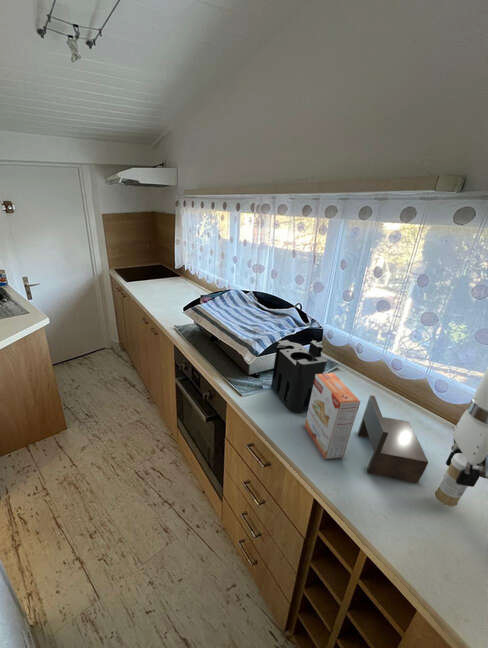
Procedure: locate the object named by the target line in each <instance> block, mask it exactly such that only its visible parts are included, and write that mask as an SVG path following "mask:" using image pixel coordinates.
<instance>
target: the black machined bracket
mask: <svg viewBox="0 0 488 648" xmlns="http://www.w3.org/2000/svg"><path fill="white" fill-rule="evenodd" d="M323 349H324V346H323V345H322V344H318V341H317V340H313V339H312V341H310V342H309V347H308V349H307V348H306V347H305V346H304V345H302V344H300V343H297V342H292V341H289V339H285V340H277V343H276V350H275V357H274V364H273V370H272V378H271V385H270V388H271V390H272V391H273V393H274V394H275V395H276V396H277V397H278V399H279V400H280V401H281V402H282V403H283V405H284V406H285V407H286V409H288V410H289V411H291V412H292V413H304V412H308V408H309V403H310V399H311V394H312V389H313V384H314V380H315V375H316V374H324V373H325V370H326V366H327V363H328V361H329V359H327V358H326V357H325V356H322V352H323Z"/></svg>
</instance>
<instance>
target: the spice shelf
mask: <svg viewBox="0 0 488 648" xmlns="http://www.w3.org/2000/svg"><path fill="white" fill-rule="evenodd" d="M362 415H363V416H362V419H361V421H360V425H359V427H358V431H357V436H358V437H360V438H367V439H369V442H370V445H371V449H372V455H371V456H370V460H369V462H368V465H367V468H366V473H367V474H370V475H375V476H380V477H384V478H390V479H392V480H393V479H394V480H399V481H403V482H409V483H411V484H412V483H413V484H419V482H420V481H421V479H422V477H423V475H424V473H425V471H426V469H427V467H428V465H429V460H428V458H427V456H426V454H425V451H424V449H423V448H422V445H421V443H420V441H419V440H418V437H417V435H416V433H415V431H414V429H413V427H412V425H411V423H410V421H409V420H404V419H398V418H390V417H386V416H383V414H382V412H381V410H380V407H379V404H378V401H377V399H376V396H375V395H369V397H368V401H367V404H366V407H365V409H364V412H363V414H362Z"/></svg>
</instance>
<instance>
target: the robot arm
mask: <svg viewBox="0 0 488 648" xmlns="http://www.w3.org/2000/svg"><path fill="white" fill-rule="evenodd" d="M452 438H453V444H452V446H451V448H450V449H451V451H450V453H449V455H448V457H447V459H446V461H445V464H446V466H448V467H449V466H450V464H451V460H452V458H453V456H454V455H455V454H456V453H463V455H464V456H465V458H466V459H467V464H466V467H465V470H461V472H460V474H459V476H458V478H457V480H456V483H457V484H459V485H465V486H468V487H471V488H474V487H475V485H476V484H477V483H478V480H479V479H480V478H482V479H486V480H487V479H488V367H487V368H486V370H485V372H484V374H483V375H482V378H481V380H480V381H479V385H478V386H477V387H476V390H475V391H474V394H473V396H472V398H471V400H470V402H469V404H468V406H467V408H466V409H465V411H464V412H463V414H462V415H461V416H460V418H459V420H458V422H457V423H456V425H455V427H454V429H453V432H452ZM473 466H479V467H478V470H476V469H472V468H473Z"/></svg>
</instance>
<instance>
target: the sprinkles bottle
mask: <svg viewBox="0 0 488 648" xmlns="http://www.w3.org/2000/svg"><path fill="white" fill-rule="evenodd" d="M466 464H467V459H466V458H465V456H464V455H463V453H456V454H455V455H454V456H453V458H452V460H451V464H450V466H448V468H447V469H446V471H445V473H444V475H443V476H442V478H441V481H440V482H439V485H438V487H437V489H436V490H435V491H434V497H435V499H436V500H437V501H438V502H440V503H441V504H442V505H443V506H444V505H445V506H446V507H451V508H453V507H456V506H458V504H459V501H460V500H461V498H462V497H463V495H464V494H465V492H466V490H467V488H468V487H469V486H465V485H459V484H457V483H456V480H457V478H458V476H459V474H460V472H461V470H465V467H466ZM478 467H479V466H473V468H472V469H476V470H478Z"/></svg>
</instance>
